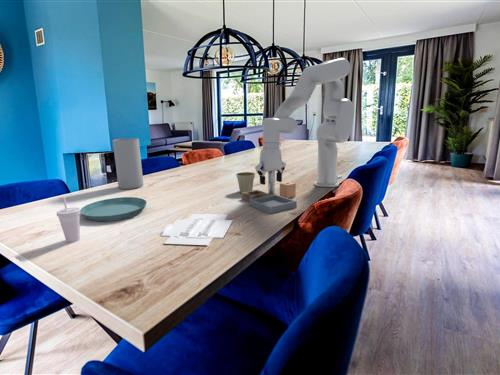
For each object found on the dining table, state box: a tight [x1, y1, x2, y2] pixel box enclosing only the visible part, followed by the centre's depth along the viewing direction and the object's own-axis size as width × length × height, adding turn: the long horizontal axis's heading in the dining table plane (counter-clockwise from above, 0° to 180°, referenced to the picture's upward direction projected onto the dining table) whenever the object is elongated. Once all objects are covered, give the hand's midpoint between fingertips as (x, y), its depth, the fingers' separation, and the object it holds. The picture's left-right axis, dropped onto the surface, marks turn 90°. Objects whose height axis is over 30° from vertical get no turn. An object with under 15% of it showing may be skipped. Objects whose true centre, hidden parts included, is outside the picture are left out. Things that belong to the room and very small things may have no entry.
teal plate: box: [79, 196, 147, 222], centre depth 125 cm, size 24×24×3 cm
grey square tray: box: [249, 194, 298, 214], centre depth 129 cm, size 14×14×2 cm
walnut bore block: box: [241, 189, 268, 203], centre depth 139 cm, size 8×8×3 cm
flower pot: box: [235, 171, 256, 193], centre depth 152 cm, size 9×9×9 cm
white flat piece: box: [160, 213, 234, 247], centre depth 106 cm, size 20×28×4 cm
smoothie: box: [56, 196, 81, 243], centre depth 97 cm, size 6×6×14 cm
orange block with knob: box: [279, 181, 297, 199], centre depth 143 cm, size 5×5×6 cm
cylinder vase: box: [112, 137, 144, 190], centre depth 165 cm, size 12×12×25 cm
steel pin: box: [267, 170, 276, 195], centre depth 147 cm, size 3×3×12 cm
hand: (270, 182), depth 147 cm, fingers open, 9 cm apart
